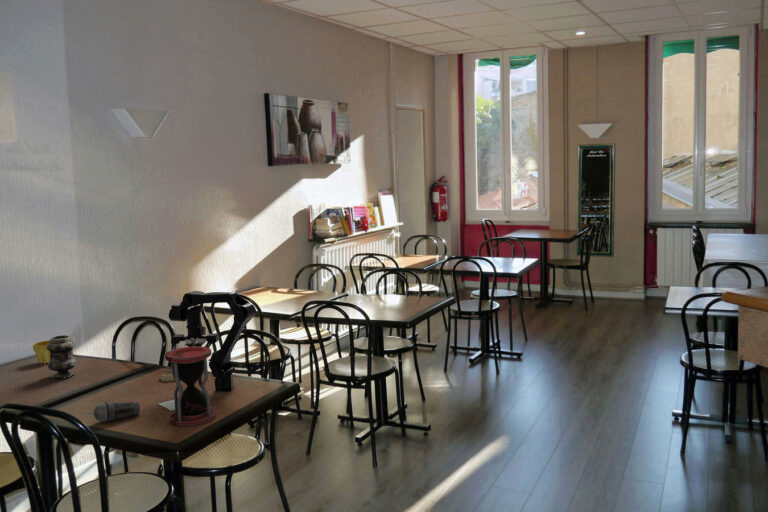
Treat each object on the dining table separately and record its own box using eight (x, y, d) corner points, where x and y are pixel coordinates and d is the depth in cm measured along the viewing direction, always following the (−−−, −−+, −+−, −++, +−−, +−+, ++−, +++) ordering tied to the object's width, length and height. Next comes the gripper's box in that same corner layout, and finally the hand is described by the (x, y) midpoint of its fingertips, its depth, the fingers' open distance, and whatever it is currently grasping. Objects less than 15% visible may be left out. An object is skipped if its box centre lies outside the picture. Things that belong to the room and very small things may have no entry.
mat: (184, 397, 285) (184, 396, 285) (197, 403, 276) (197, 402, 276) (158, 404, 277) (158, 403, 277) (171, 410, 269) (171, 410, 269)
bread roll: (176, 372, 320) (176, 362, 318) (191, 380, 313) (191, 369, 312) (154, 380, 311) (154, 369, 310) (169, 387, 304) (169, 377, 303)
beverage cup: (140, 421, 264) (82, 428, 253) (134, 413, 270) (78, 420, 259) (141, 402, 263) (83, 409, 252) (136, 395, 269) (79, 401, 257)
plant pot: (29, 365, 342) (27, 345, 341) (43, 359, 352) (41, 340, 351) (49, 365, 340) (47, 345, 339) (62, 359, 351) (60, 340, 349)
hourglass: (189, 409, 270) (184, 344, 267) (224, 413, 264) (220, 347, 261) (160, 424, 255) (155, 356, 252) (197, 429, 249) (192, 359, 246)
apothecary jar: (83, 374, 324) (79, 335, 321) (59, 381, 314) (55, 341, 311) (67, 370, 330) (63, 332, 328) (43, 377, 320) (39, 338, 318)
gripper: (221, 317, 302) (223, 353, 304) (177, 318, 302) (180, 354, 304) (214, 322, 291) (217, 360, 293) (169, 324, 291) (172, 361, 293)
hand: (196, 358), depth 296 cm, fingers closed
